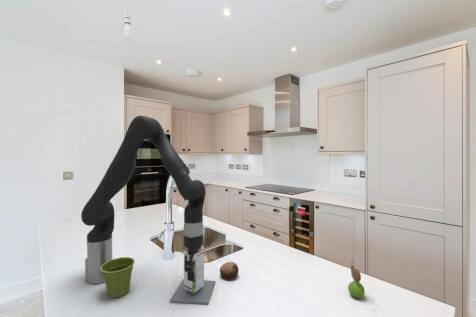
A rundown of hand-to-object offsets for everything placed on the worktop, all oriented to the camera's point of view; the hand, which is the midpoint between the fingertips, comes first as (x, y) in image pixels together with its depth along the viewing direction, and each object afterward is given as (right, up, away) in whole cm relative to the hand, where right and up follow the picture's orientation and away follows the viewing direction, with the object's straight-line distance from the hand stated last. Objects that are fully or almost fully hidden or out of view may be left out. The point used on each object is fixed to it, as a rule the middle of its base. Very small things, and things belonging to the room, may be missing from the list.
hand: (193, 274), depth 89 cm
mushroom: (+13, -7, +11) cm, 18 cm away
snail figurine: (+61, -7, -3) cm, 62 cm away
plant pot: (-29, -7, 0) cm, 30 cm away
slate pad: (0, -7, 0) cm, 7 cm away
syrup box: (0, -5, 0) cm, 5 cm away
